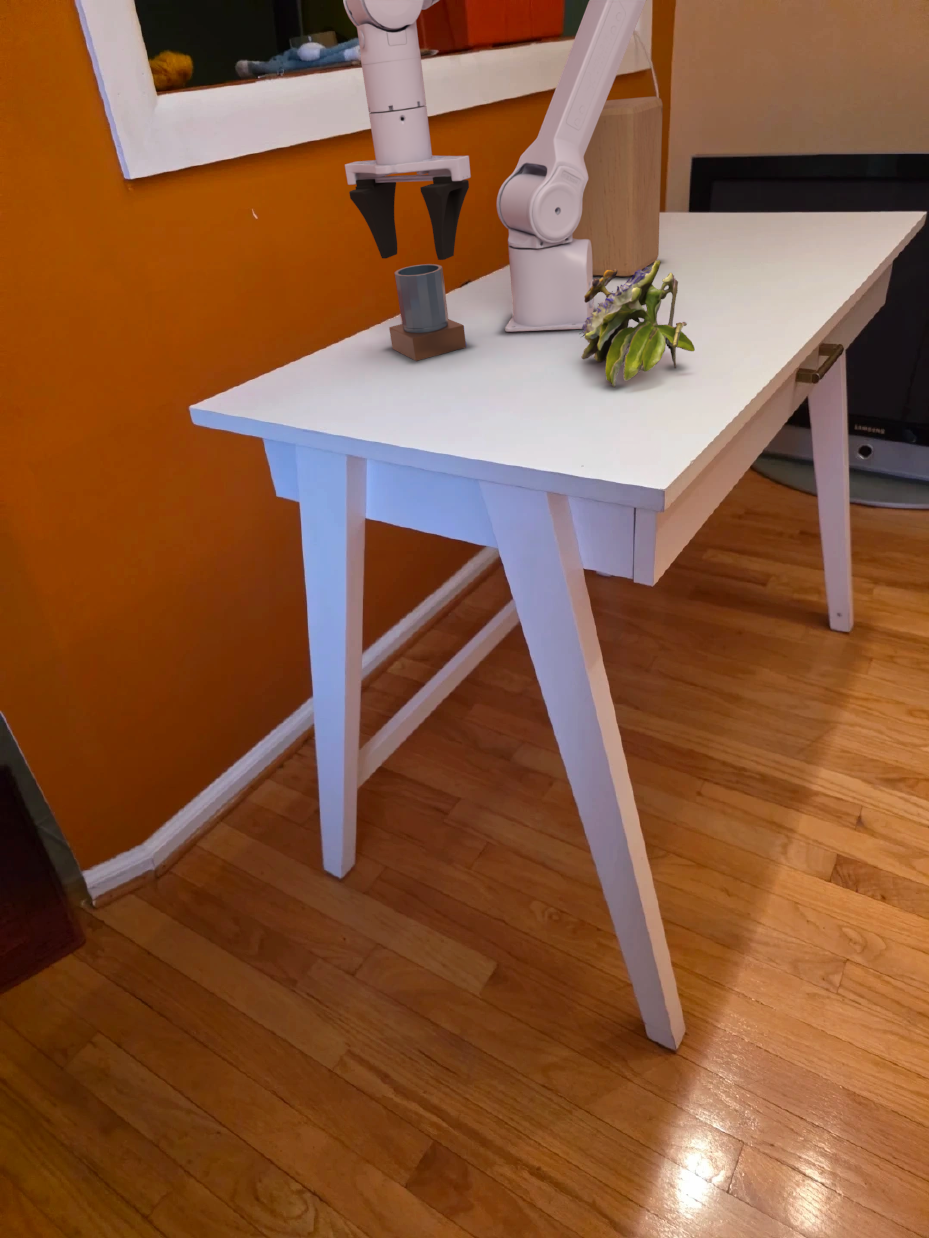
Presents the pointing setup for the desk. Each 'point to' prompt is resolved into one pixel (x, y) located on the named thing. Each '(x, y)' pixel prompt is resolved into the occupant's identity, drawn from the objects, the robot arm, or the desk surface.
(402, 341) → the block
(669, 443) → the desk surface
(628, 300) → the passion flower
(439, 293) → the cup
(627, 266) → the wooden block
